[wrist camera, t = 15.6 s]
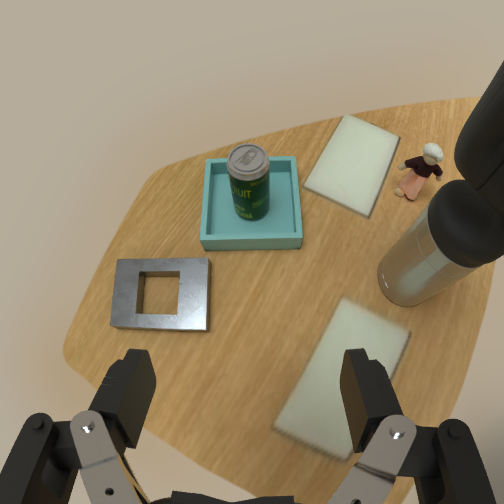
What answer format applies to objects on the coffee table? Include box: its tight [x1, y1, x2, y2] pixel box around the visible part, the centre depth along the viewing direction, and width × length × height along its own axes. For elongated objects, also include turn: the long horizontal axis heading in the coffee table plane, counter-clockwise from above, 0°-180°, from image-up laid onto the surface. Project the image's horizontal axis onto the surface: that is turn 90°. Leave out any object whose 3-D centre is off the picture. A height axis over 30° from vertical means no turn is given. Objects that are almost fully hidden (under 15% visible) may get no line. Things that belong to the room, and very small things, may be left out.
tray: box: [200, 156, 303, 251], centre depth 48 cm, size 14×14×4 cm
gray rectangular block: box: [110, 258, 211, 332], centre depth 44 cm, size 14×10×2 cm
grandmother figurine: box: [394, 143, 443, 200], centre depth 44 cm, size 8×4×13 cm, turn 86°
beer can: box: [226, 143, 270, 220], centre depth 44 cm, size 5×5×12 cm
